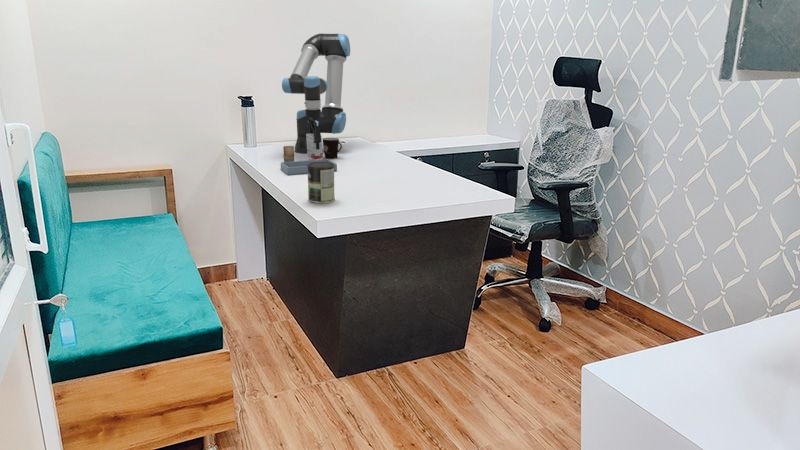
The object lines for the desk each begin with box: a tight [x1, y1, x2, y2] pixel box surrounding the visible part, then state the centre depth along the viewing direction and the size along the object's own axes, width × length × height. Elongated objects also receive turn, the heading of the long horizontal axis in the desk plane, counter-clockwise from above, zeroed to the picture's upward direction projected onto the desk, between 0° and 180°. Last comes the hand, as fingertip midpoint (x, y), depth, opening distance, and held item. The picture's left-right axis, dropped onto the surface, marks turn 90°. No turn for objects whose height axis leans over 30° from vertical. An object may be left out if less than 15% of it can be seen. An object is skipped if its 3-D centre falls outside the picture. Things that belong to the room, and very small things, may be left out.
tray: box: [280, 158, 338, 176], centre depth 282 cm, size 14×24×4 cm, turn 114°
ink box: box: [306, 133, 324, 160], centre depth 299 cm, size 9×5×12 cm, turn 33°
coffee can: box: [307, 162, 335, 204], centre depth 229 cm, size 10×10×14 cm
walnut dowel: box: [283, 145, 295, 162], centre depth 294 cm, size 5×5×9 cm
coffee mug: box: [322, 137, 343, 160], centre depth 312 cm, size 12×9×10 cm
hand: (314, 153), depth 300 cm, fingers closed on ink box, 9 cm apart
